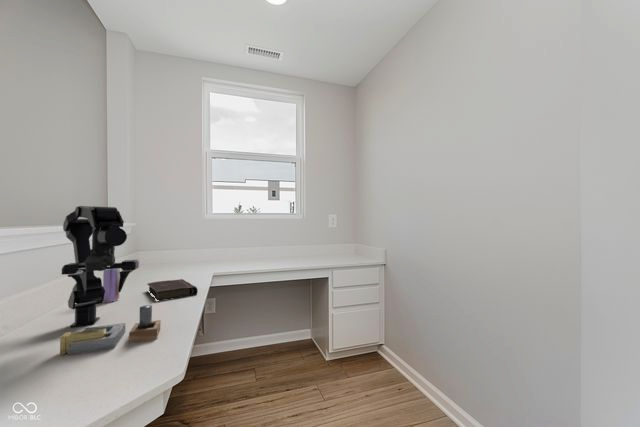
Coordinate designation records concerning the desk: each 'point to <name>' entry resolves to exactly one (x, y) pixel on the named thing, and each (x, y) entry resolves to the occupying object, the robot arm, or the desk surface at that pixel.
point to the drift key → (79, 338)
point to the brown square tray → (144, 332)
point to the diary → (171, 289)
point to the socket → (99, 340)
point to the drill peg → (145, 317)
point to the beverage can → (111, 284)
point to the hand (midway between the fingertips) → (102, 293)
